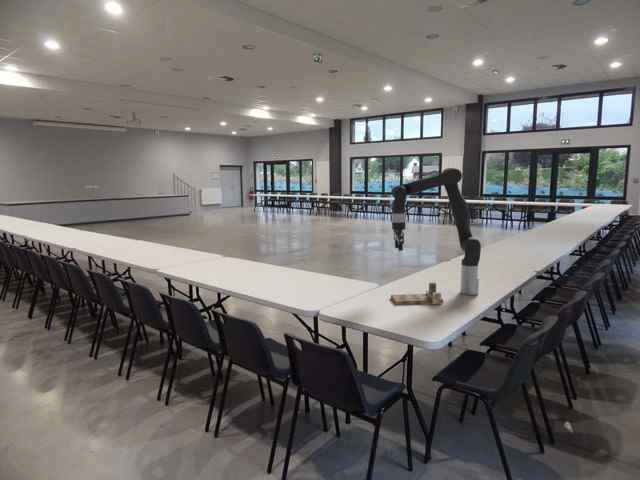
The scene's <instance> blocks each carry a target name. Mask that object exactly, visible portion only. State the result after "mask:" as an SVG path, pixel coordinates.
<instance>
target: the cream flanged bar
mask: <svg viewBox="0 0 640 480" xmlns="http://www.w3.org/2000/svg"><path fill="white" fill-rule="evenodd" d="M425 294H428V295H429V296H430V297H431V298H432V299H433V302H432V303H433V304H432V305H442V303H441V298H442V293H441V292H437V283H435V282H429V283H428V289H426V290H425Z"/></svg>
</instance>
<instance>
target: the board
mask: <svg viewBox="0 0 640 480" xmlns="http://www.w3.org/2000/svg"><path fill="white" fill-rule="evenodd" d="M390 299H391V300H392V302H393V303H394V305H396V306H399V305H405V306H406V305H428V304H429V305H430V304H431V305H434V304H433V303H432V302H433V299H432V298H431V297H430V296H429V295H428V294H426V293H418V294H417V293H411V294H410V293H409V294H407V293H406V294H405V293H404V294H391V295H390ZM441 304H444V299H443V298H442V297H441Z"/></svg>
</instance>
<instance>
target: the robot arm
mask: <svg viewBox="0 0 640 480" xmlns="http://www.w3.org/2000/svg"><path fill="white" fill-rule="evenodd" d="M462 178H463V173H462V171H461V170H460V169H459V168H456V167H447V168H445V169H444V170H442V172H441V174H437V175H433V176H430V177H429V176H428V177H423V178H420V179H417V180H413V181H411V182H408V183H402V184H398V185H395V186H393V187H392V189H391V192H390V194H391V196H392V197H393V199H394V200H393V202H394V203H393V204H392V213H391V214H392V215H391V229H392V230H393V241H394V248H395V249H398V251H399V252H401V251H403V249H404V247H403V245H404V244H405V233H404V232H403V231H404V230H406V225H407V224H406V223H407V222H406V219H407V218H406V203H407V196H408V195H415V194H418V193H422V192H424V191H428V190H431V189H435V188H438V187H442V186H444V189H445V191H446V195H447V197H448V199H447V200H448V203H449V205H450V206H449V207H450V210H451V214H452V217H453V219H454V220H453V221H454V223H455V226H456V227H455V228H456V231H457V234H458V241H459V246H460V249H461V250H462V251H463V252H464V257H463V259H461V269H460V294H462V295H467V296H474V295H475V296H476V295H479V289H480V288H479V286H480V284H479V283H480V278H479V263H480V260H481V249H482V246H481V242H480V240H479V239H477V238H475V237H474V236H473V235H472V231H471V227H470V223H471V215H470V209H469V206H468V203H467V200H466V199H465V197H464V196H463V194H462V193H461V191H460V188H459V184H458V183H460V181H462Z"/></svg>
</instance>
